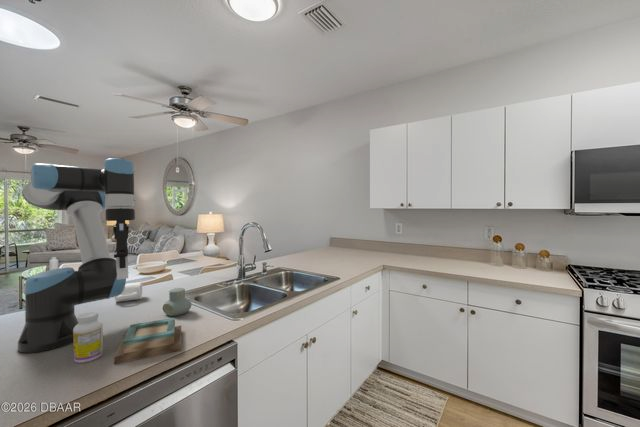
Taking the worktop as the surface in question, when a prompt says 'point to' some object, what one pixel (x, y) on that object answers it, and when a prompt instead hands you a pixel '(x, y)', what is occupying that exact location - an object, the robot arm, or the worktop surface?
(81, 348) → the supplement bottle
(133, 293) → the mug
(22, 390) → the worktop surface
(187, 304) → the green pipe tee
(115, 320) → the worktop surface
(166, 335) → the display stand
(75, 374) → the worktop surface
